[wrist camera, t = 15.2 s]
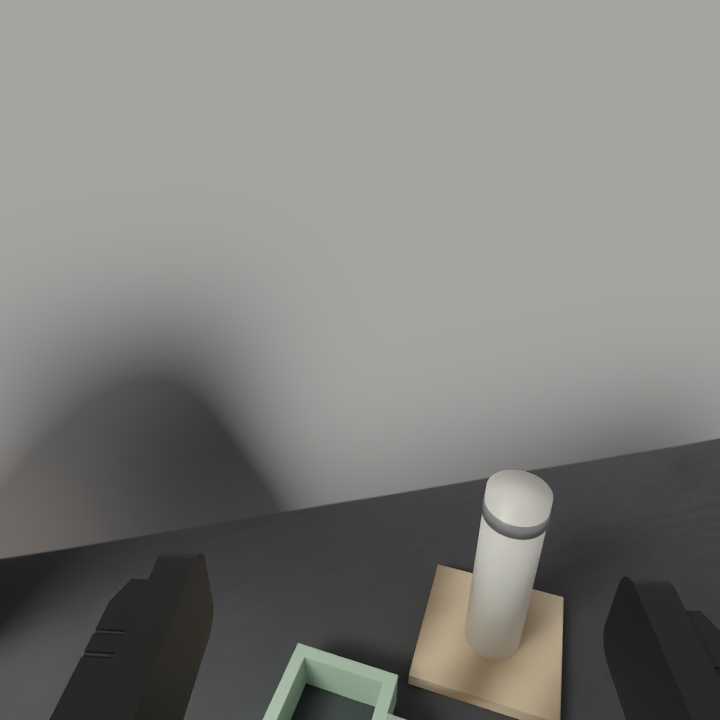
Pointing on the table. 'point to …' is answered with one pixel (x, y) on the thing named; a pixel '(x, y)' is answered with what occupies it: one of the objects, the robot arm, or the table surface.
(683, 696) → the robot arm
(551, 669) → the oak pad
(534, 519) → the thermos bottle
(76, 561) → the table surface
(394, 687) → the collar
